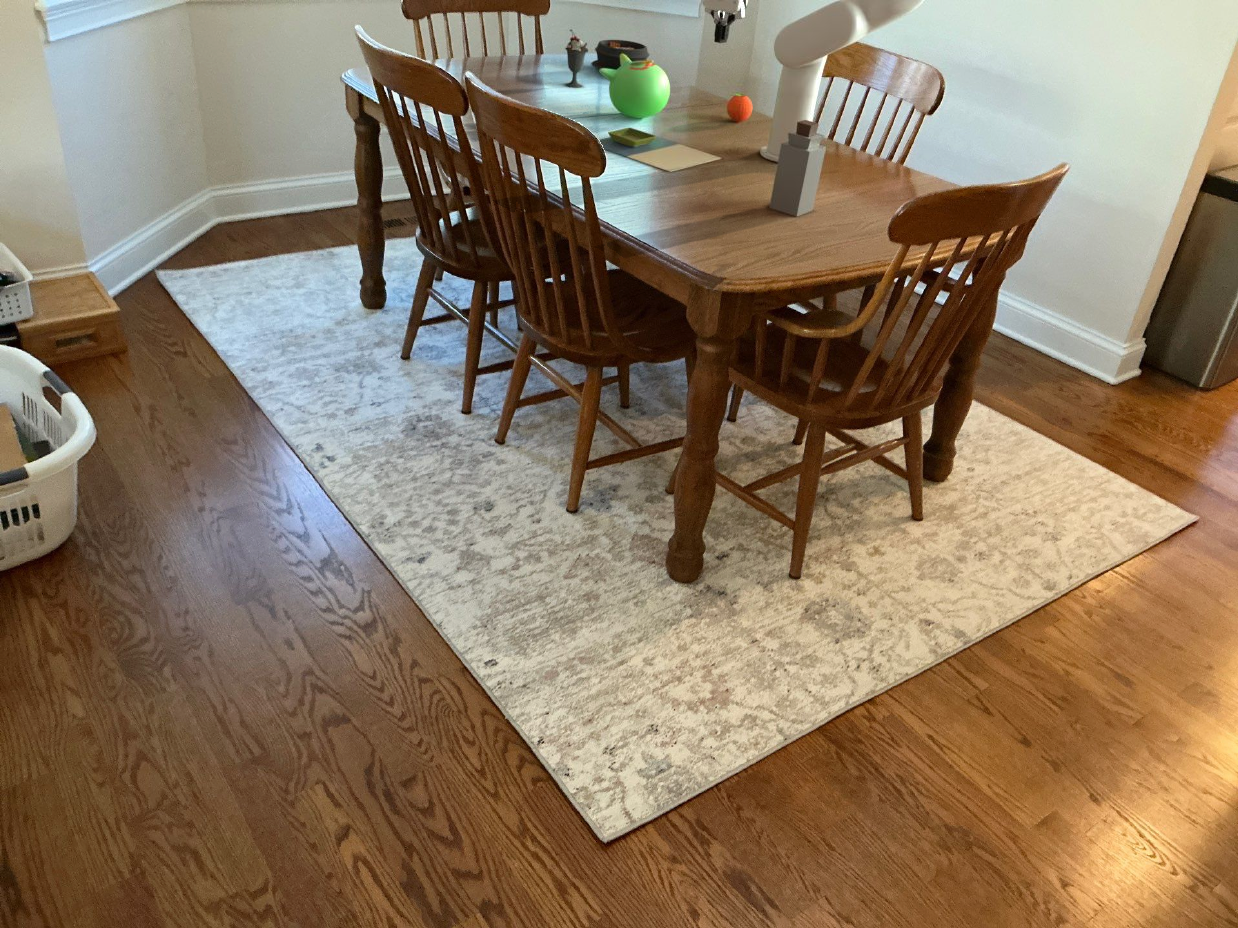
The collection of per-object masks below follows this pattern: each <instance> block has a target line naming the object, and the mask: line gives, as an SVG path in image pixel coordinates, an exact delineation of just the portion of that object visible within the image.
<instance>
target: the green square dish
mask: <svg viewBox="0 0 1238 928" xmlns="http://www.w3.org/2000/svg"><path fill="white" fill-rule="evenodd" d="M607 132H608V135H609V137H611V138H612V139H613V140H614V141H615V142H618V143H621V144H624V145H627V146H630V147H638V146H642V145H646V144H649V143H650V142H652V141H653V140H654V139H655V138H656V137H657V135H654V134H651V133H648V132H645V131H642V130H639V129H636V128H633V127H625V128H621V129H617V130H616V129H615V130H611V131H607Z"/></svg>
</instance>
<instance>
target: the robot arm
mask: <svg viewBox="0 0 1238 928" xmlns="http://www.w3.org/2000/svg"><path fill="white" fill-rule="evenodd" d="M925 1H926V0H836V1H833V2H831V3H829V4H827V5H825V6H823V7H821V8H818V9H817V10H815V11H813V12H810V13H809V14H807V15H805V16H802V17H801V18H799V19H797V20H795V21H793V22H791V23H788V24H787V25H785V26H784V27H782V28H781V29H780V31H779V32H778V33H777V35H776V37H775V39H774V43H773V52H774V53H773V54H774V56H775V59H776V60H777V62H779V64H781V65H782V68H781V73H780V76H779V80H778V87H777V92H776V97H775V103H774V109H773V114H772V119H771V126H770V130H769V137H768V142H767V143H768V144H767V145H765V146H762V147H761V148H760V152H759V153H760V156H761V157H763V158H764V159H767V160H768V161H772V162H776V163H778V159H779V154H780V148H781V143H785V142H788V141H789V139H788V132H792V131H796V130H797V122H799V121H803V120H808V121H812V122H813V119H814V115H815V110H816V103H817V99H818V94H819V91H820V85H821V80H822V77H823V72H824V69H825V65H826V62H827V59H828V55H830V54H834V53H835V52H837V51H839V50H841V49H843V48H846V47H848V46H850V45H852V44H855V43H857V42H858V41H859V40H861V39H862V38H864V37H866V36H867V35H870V34H871V33H873V32H876V31H877V30H879V29H882V28H884V27H886V26H887V25H890V24H892V23H893V22H895V21H897V20H899V19H901V18H903V17H905V16H907V15H908V14H910V13H911V12H913V11H915V10H916V9H917V8H918V7H920V6H921V5H922V4H923V3H924V2H925ZM748 2H749V0H702V6H703V7H704V12H705V13H707V14H708V15H711V17H712V19H713V23H714V24H715V25H714V26H715V28H714V33H713V34H714V43H718V44H725V43H727V42H728V38H729V34H730V26H732V24H733V23H734V22H735V21H737V20H743V19H745V12H746V10H747V6H748Z"/></svg>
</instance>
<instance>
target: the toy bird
mask: <svg viewBox="0 0 1238 928" xmlns="http://www.w3.org/2000/svg"><path fill="white" fill-rule="evenodd" d="M654 62H655V61H654V60H646V61H641V60H638V61H634V62H632V61H631V60H630V59H629V58H628V57H627V56H626V55H625V54H620V63H621V67H619V68H618V69H617V70H614V69H606V68H602V69H600V70H599V69H598V72H599V74H600V75H602V77H604V78H605V79H606V80H607V81H609V85H608V95H609V99H610V102H611V103H612V105H613V107H614V108H615V109H616V110H617V111H618V112H619V113H620V114H622V115H624V116H625V117H630V118H633V119H645V118H649V117H652V116H655V115H657V114H658V113H660V112H661V111H662V110H663V109H664V108H665V107H666V106H667V104H668V101H669V98H670V95H671V86H670V81H669V78H668V75H667V74H666V72H665V71H664V70H663V68H661V67H660V66H659V65H657V64H654Z"/></svg>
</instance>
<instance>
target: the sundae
mask: <svg viewBox="0 0 1238 928" xmlns="http://www.w3.org/2000/svg"><path fill="white" fill-rule="evenodd" d="M569 32H571V35H572V36H571V37H570V38H569V40H570V41H569V42H568V43H567V45H566V47H564V49H565V51H566V54H567V55H566V56H567V66H568V67H567V68H568V69H569V71H570V72H571V73H572V77H571V81H570V82H567V83H565V86H567V87H569V88H575V89H576V88H577V89H578V88H582V87H583V84H581V83H579V82H578V80H577V75H578V73H580V72H581V71H582V70H583V66H584V63H585V62H584V61H585V57H586V53H588V52H589V49H588V47H587V45H588V42H586V43H584V42H583V41H582V39H580V38H578V36H576V35H575V33H574V31H573V29H569Z"/></svg>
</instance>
